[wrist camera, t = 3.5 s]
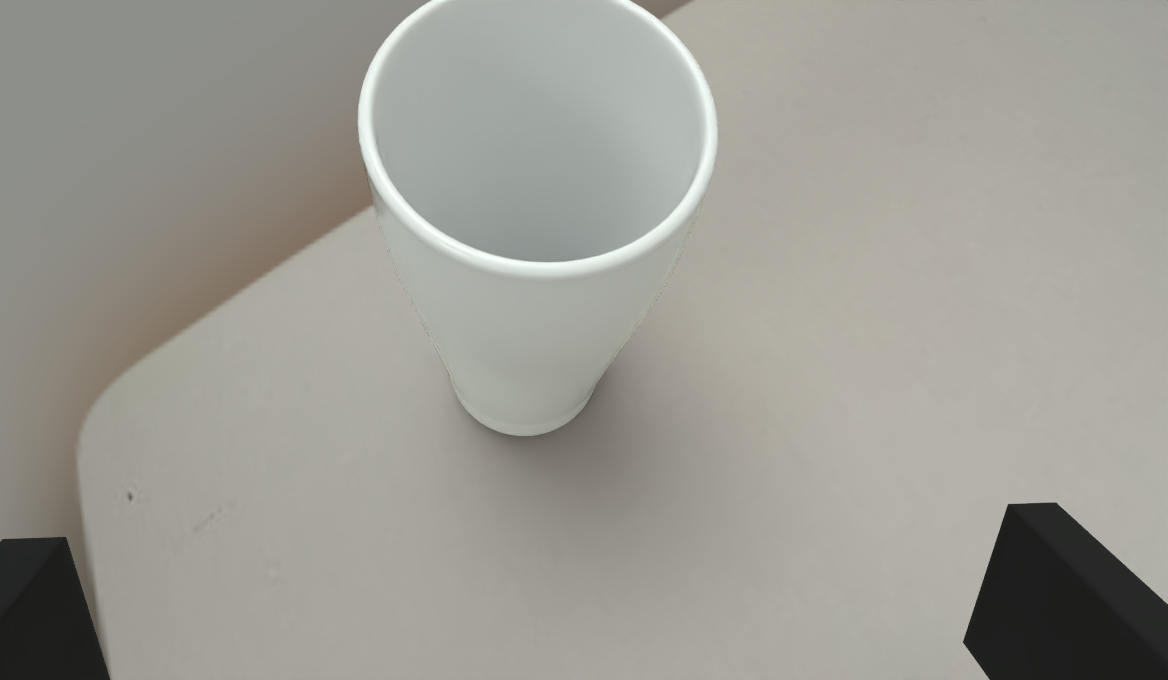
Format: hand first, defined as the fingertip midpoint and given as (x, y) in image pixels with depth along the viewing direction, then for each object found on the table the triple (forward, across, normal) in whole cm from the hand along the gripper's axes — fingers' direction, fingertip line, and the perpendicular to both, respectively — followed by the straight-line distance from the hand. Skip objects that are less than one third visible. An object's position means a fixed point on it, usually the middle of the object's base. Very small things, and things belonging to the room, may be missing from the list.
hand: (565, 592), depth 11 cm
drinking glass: (+17, 0, -5) cm, 17 cm away
